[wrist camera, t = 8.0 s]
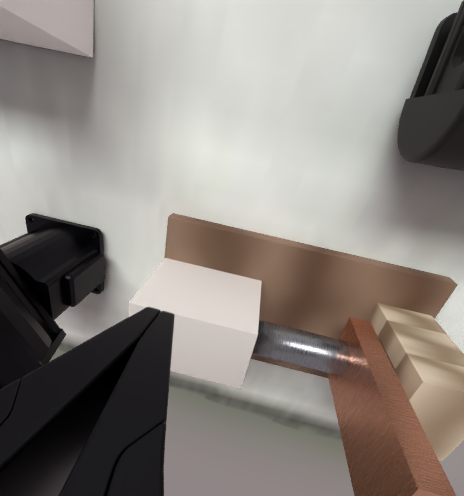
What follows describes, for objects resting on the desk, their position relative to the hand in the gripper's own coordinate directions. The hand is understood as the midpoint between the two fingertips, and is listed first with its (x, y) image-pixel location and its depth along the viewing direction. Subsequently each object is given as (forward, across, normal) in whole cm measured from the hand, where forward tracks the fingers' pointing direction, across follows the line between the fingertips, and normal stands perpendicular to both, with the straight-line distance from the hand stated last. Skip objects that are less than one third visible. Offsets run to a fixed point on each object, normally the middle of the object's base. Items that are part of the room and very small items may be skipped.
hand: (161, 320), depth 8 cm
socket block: (+13, -15, +8) cm, 21 cm away
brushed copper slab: (+10, -10, +8) cm, 16 cm away
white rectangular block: (+13, 0, +8) cm, 15 cm away
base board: (+13, -7, +8) cm, 17 cm away
